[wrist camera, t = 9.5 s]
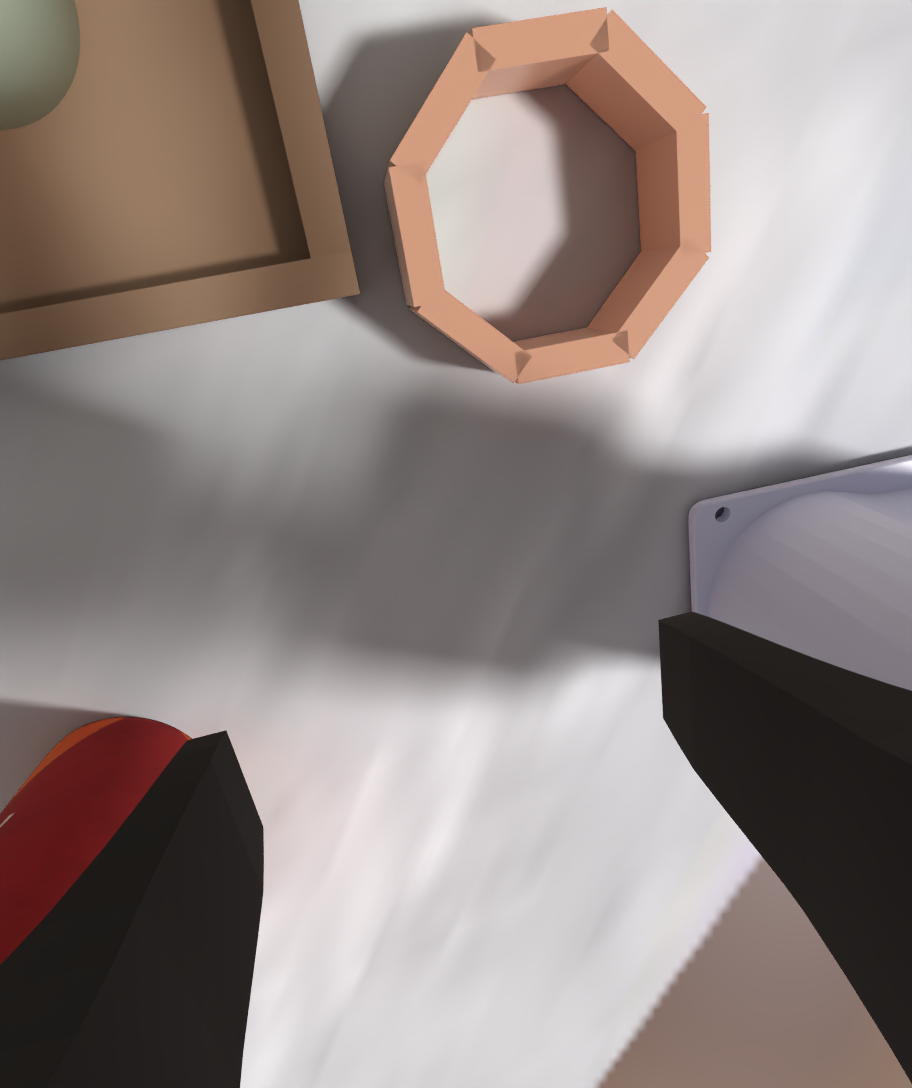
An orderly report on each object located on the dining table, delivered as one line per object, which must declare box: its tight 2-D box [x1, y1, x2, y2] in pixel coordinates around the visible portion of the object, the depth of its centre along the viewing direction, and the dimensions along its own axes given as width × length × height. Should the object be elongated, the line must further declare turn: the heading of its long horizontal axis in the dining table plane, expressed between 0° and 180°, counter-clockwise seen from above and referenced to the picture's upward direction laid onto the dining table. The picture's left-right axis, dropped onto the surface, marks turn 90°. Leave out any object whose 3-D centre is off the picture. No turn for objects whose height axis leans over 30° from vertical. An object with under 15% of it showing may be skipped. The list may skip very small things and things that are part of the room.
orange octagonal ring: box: [384, 7, 711, 384], centre depth 17 cm, size 8×8×2 cm
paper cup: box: [0, 717, 192, 964], centre depth 16 cm, size 8×8×14 cm
